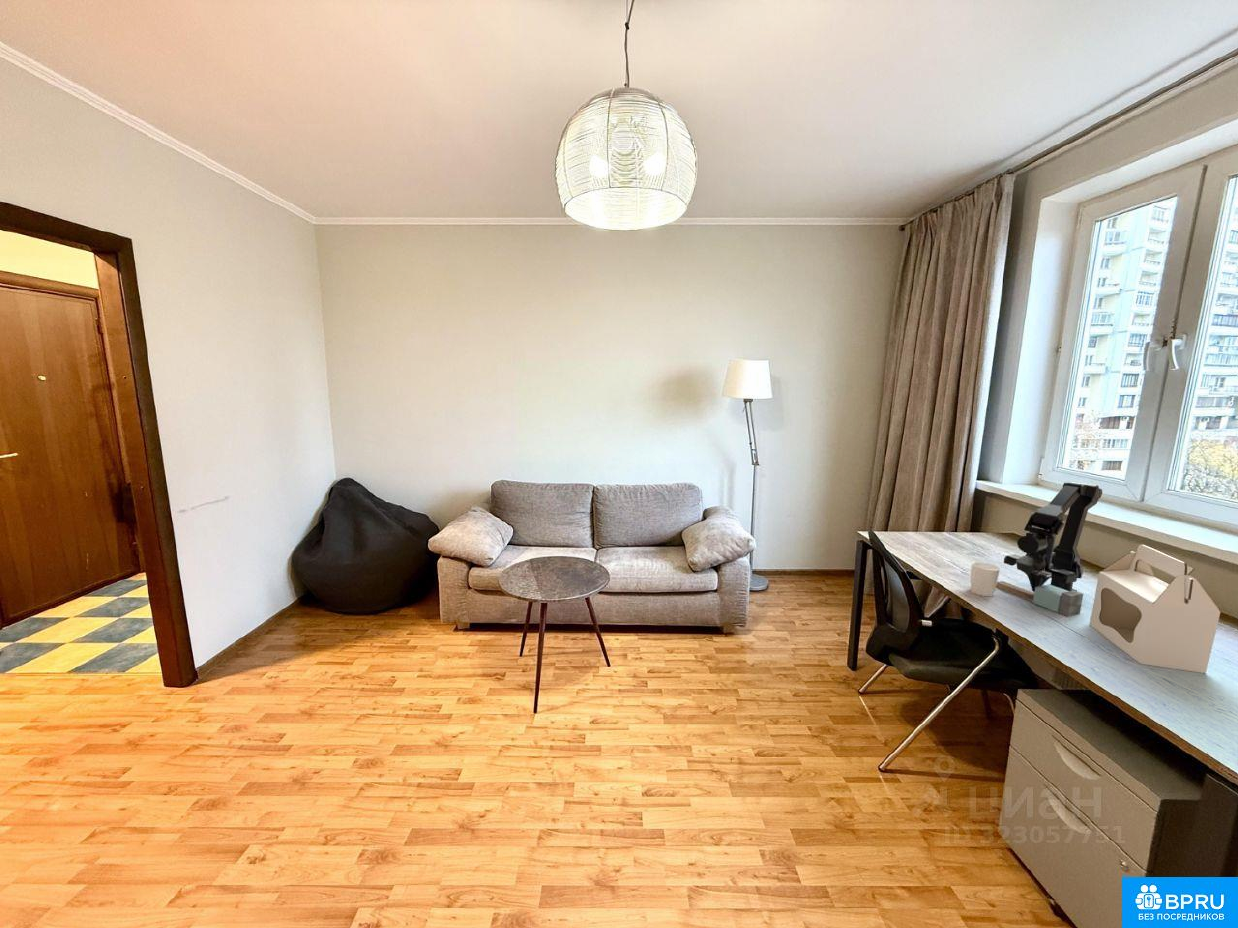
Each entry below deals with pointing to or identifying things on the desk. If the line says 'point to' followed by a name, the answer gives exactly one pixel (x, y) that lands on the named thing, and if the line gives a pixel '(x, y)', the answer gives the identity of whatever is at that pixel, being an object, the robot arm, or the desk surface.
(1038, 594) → the block
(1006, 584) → the rail
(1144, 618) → the gable box
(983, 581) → the white cup
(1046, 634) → the desk surface
